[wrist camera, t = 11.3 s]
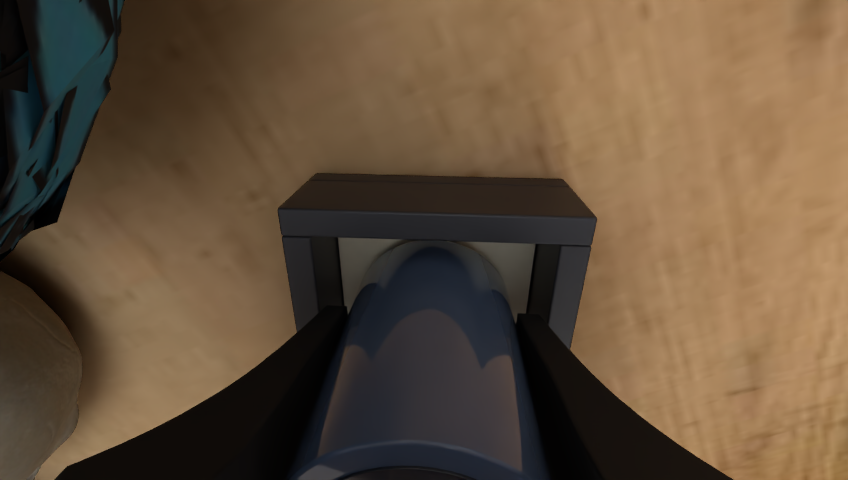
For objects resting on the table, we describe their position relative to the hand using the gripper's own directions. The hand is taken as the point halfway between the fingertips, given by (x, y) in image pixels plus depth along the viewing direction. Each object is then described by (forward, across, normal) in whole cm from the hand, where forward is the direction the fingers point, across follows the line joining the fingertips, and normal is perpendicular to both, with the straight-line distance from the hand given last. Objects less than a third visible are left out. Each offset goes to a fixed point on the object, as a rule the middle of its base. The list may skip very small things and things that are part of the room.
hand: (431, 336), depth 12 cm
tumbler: (+1, 0, 0) cm, 1 cm away
